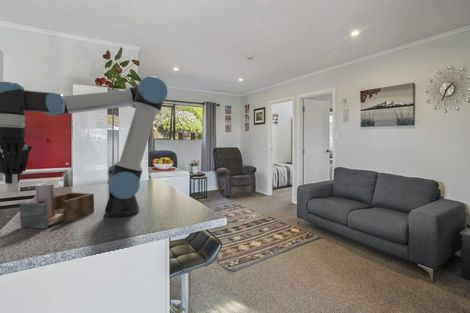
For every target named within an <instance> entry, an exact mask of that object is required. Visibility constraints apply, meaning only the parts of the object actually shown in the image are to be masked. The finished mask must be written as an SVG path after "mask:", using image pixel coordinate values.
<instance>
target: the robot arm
mask: <svg viewBox="0 0 470 313" xmlns="http://www.w3.org/2000/svg"><path fill="white" fill-rule="evenodd" d="M140 80H141V79H140ZM167 97H168V87H167V85H166V83H165V81H163V80H162V79H161V78H159V77H157V76H154V75H153V76H152V75H151V76H146V77H143V79H142V80H141V81H139V85H136V86H132V87H127V88H126V89H123V90H114V91H103V92H95V93H94V92H92V93H82V94H72V95H70V94H69V95H63V94H62V93H54V92H47V91H46V92H45V91H34V90H27V89H25V86H24V85H23V84H20V83H16V82H11V81H10V82H9V81H0V174H2V175H4V182H5V184H6V185H7V190H6V191H7V193H12V194H13V193H18V192H19V183H20V179H21V178H20V175H21V174H22V173H23V172H25V171H26V169H27V164H28V160H29V156H30V152H31V150H32V149H33V147H32V146H30V145H28V144H26V142H25V138H26V128H24V127H26V116H25V112H31V113H32V112H33V113H34V112H35V113H43V114H46V115H47V116H49V117H60V116H62V115H69V114H70V115H71V114H75V113H76V114H77V113H85V112H94V111H101V110H103V111H104V110H109V109H118V108H127V107H128V108H129V107H131V109H135V110H134V112H133V113H134V114H133V117H132V120H131V123H130V127H129V129H128V133H127V136H126V140H125V142H124V146H123V150H122V152H121V155H120V158H119V161H117V162H114V164H113V165H111V166H109V167H108V171H107V174H108V175H107V176H108V185H107V186H108V200H107V203H106V205H105V209H104V215H105V216H107V217H109V218H120V217H121V218H122V217H128V216H134V215H136V214H138V213H139V212H140V206H139V203H138V200H137V197H136V194H137V193H138V192H139V190H140V186H141V183H140V182H141V181H140V180H141V178H142V174H143V168H142V166H141V164H142V161H143V157H144V155H145V152H146V148H147V145H148V143H149V142H148V141H149V138H150V135H151V131H152V129H153V128H152V127H153V125H154V122H155V119H156V115H158V114H160V113H161V111H162V107H163V103H164V101H165V100H166V99H167Z"/></svg>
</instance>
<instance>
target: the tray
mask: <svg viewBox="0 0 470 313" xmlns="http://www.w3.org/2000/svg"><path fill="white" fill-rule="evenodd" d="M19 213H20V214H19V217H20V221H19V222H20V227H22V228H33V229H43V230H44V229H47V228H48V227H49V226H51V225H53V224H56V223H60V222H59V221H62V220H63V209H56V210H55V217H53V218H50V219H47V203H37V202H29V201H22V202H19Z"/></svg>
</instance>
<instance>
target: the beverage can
mask: <svg viewBox="0 0 470 313" xmlns="http://www.w3.org/2000/svg"><path fill="white" fill-rule="evenodd" d="M35 186H36V187H35V196H36V199H35V200H36V202H35V203H47V219H50V218H53V217H55V196H56V195H55V194H56V192H55V184H54V182H45V183H43V182H42V183H37V184H36V185H35Z"/></svg>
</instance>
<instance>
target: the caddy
mask: <svg viewBox="0 0 470 313" xmlns="http://www.w3.org/2000/svg"><path fill="white" fill-rule="evenodd" d="M94 195H95V193H86V192H66V193H62V194H59V195H58V194H57V195H55V210H56V209H63V220H62V221H59V222H58V223H68V222H71V221H73V220H74V221H75V220H77V219H79V218H81V217H84V216H87V215H90V214H92V213H94V212H95V196H94Z"/></svg>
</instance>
